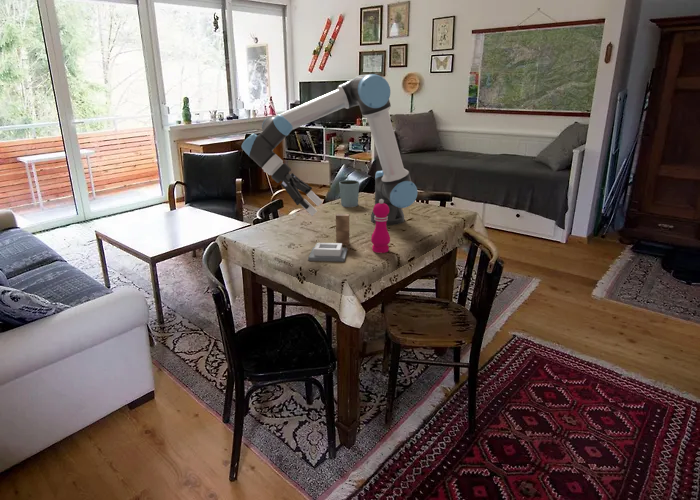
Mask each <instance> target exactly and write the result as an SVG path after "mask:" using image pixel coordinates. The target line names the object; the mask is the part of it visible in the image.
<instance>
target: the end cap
mask: <svg viewBox="0 0 700 500" xmlns="http://www.w3.org/2000/svg"><path fill="white" fill-rule="evenodd" d="M347 253H348V247H343V245H342V243H336V242H316V244H315V246H313V247H312V249H311V251H310V254H309V256H308V261H309V262H310V261H313V262H343V263H344V262H346V261H345V260H346V257H347Z"/></svg>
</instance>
